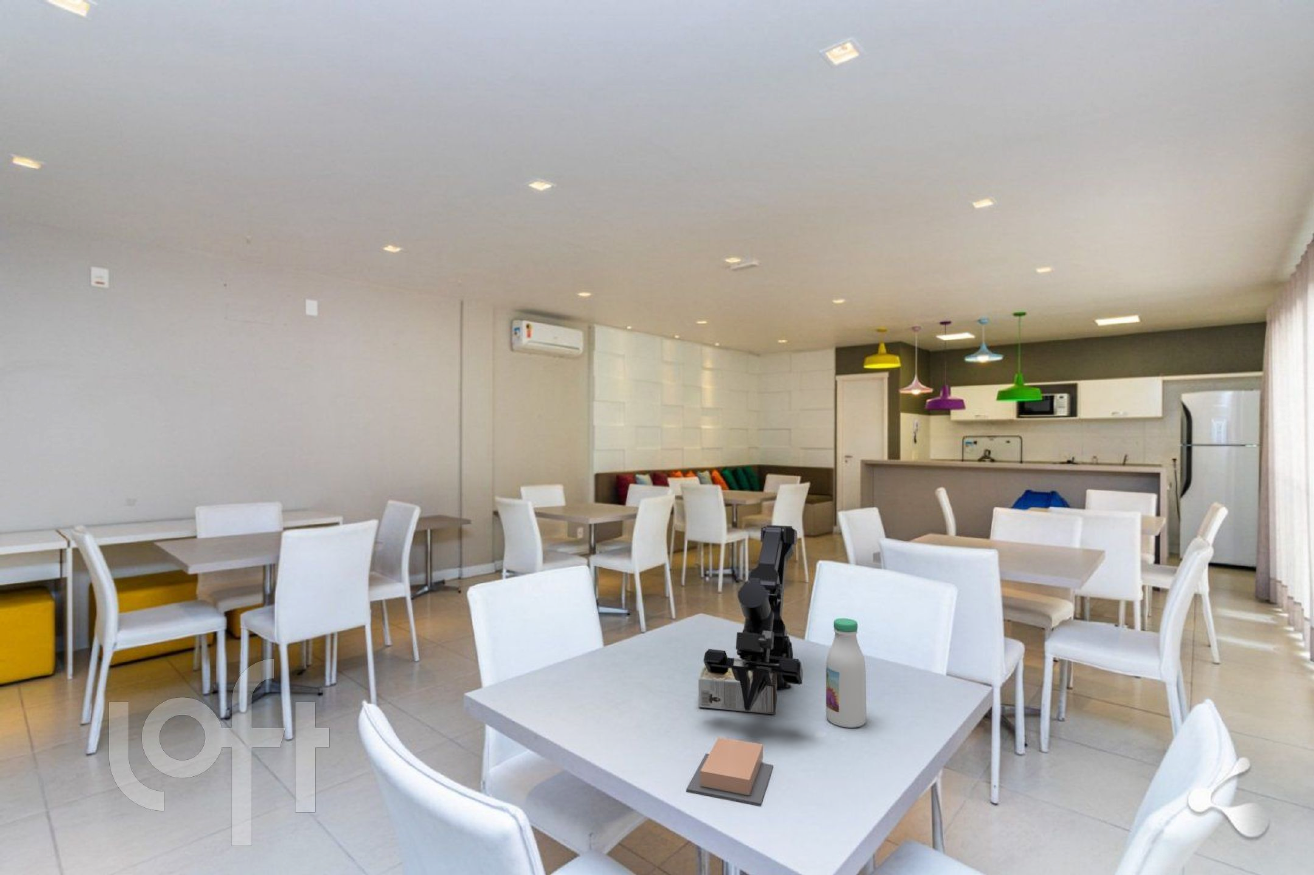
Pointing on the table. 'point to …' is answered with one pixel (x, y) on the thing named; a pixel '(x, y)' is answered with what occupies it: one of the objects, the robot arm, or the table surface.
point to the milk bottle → (845, 677)
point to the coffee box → (733, 693)
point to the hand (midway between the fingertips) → (747, 710)
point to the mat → (753, 798)
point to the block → (732, 766)
